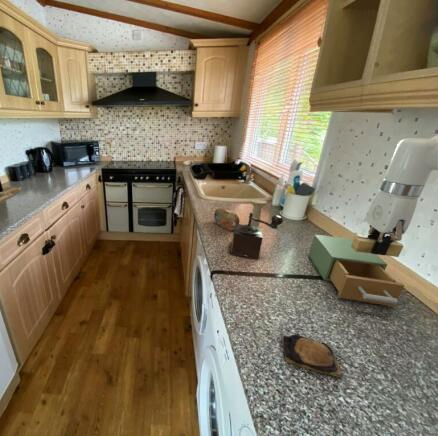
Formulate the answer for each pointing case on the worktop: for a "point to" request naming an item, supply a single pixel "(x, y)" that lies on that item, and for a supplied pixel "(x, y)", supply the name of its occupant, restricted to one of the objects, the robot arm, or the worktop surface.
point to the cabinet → (338, 254)
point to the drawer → (365, 283)
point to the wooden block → (367, 244)
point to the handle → (257, 210)
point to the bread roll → (310, 355)
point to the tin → (226, 218)
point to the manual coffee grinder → (250, 237)
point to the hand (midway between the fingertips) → (374, 250)
